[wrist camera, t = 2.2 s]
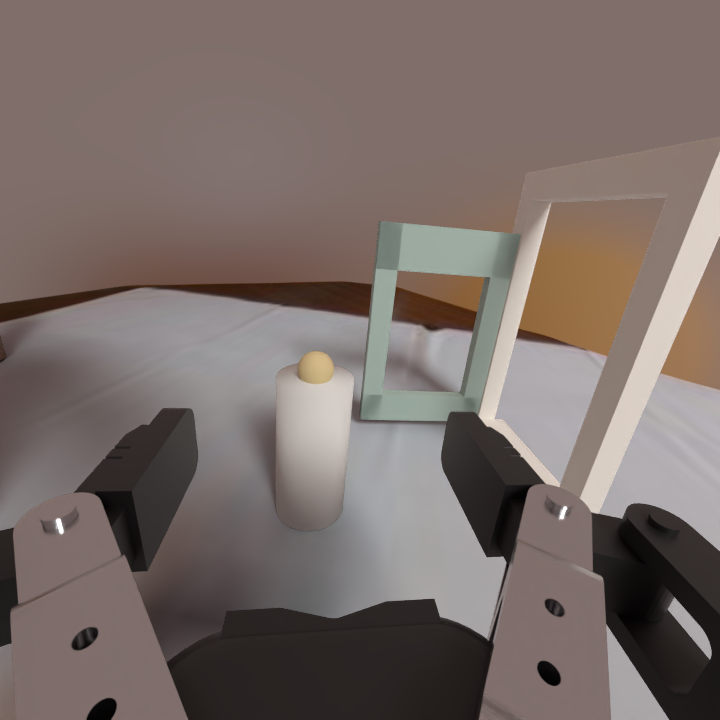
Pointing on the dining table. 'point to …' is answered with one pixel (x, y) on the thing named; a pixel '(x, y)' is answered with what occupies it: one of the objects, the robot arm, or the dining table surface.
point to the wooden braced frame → (2, 351)
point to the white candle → (312, 441)
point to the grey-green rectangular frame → (445, 256)
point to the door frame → (646, 303)
